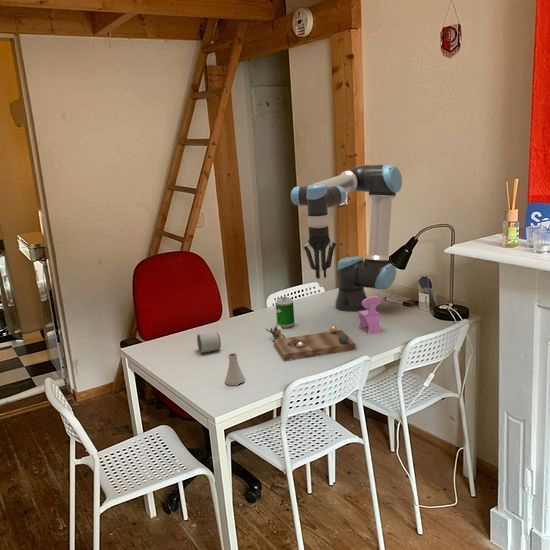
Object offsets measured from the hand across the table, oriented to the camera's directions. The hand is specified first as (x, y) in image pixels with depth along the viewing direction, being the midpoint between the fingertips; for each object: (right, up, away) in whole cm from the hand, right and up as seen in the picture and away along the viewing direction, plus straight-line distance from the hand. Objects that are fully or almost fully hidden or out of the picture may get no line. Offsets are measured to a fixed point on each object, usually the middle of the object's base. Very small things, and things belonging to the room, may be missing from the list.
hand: (321, 286), depth 224 cm
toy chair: (+21, -18, +14) cm, 31 cm away
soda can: (-13, -18, +25) cm, 34 cm away
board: (-3, -24, -1) cm, 24 cm away
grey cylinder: (-44, -26, +5) cm, 51 cm away
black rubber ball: (+8, -20, -6) cm, 22 cm away
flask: (-32, -32, -26) cm, 52 cm away
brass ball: (+5, -17, +5) cm, 19 cm away
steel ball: (-8, -23, -3) cm, 25 cm away
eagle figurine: (-17, -22, +9) cm, 30 cm away
